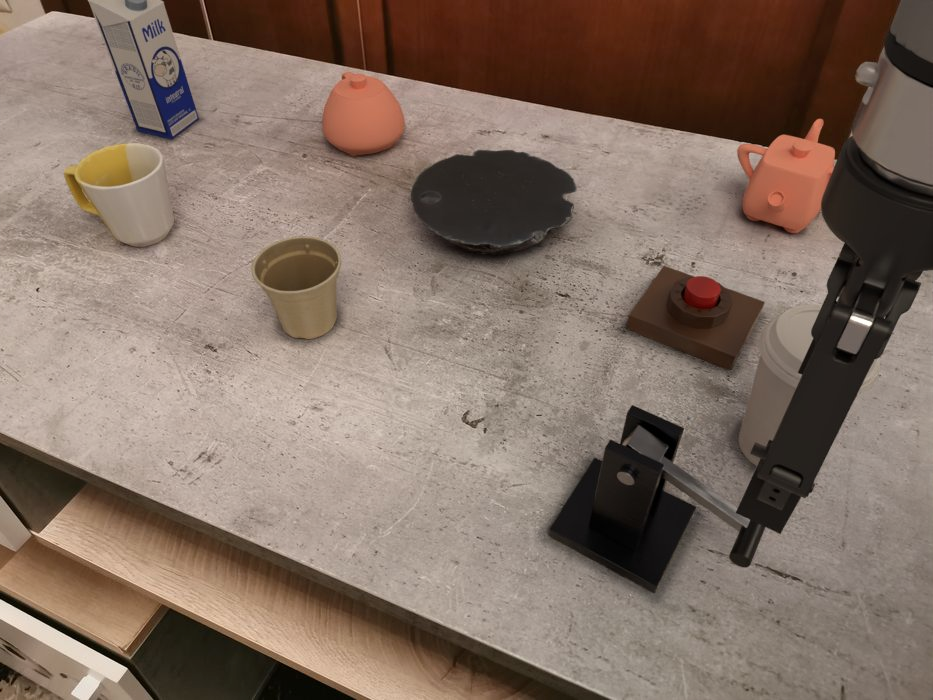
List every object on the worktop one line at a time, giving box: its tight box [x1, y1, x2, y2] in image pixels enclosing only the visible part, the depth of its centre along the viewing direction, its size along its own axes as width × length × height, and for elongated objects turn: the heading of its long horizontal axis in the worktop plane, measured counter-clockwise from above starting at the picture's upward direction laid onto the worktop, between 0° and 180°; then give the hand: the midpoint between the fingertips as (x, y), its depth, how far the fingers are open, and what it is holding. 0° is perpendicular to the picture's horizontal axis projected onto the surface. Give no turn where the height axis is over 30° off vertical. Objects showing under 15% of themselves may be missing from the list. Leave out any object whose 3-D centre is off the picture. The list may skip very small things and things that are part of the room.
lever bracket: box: [548, 404, 697, 594], centre depth 60 cm, size 10×9×13 cm
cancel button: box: [683, 275, 721, 309], centre depth 79 cm, size 4×4×2 cm
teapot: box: [736, 118, 836, 234], centre depth 93 cm, size 14×12×10 cm
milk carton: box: [87, 0, 200, 141], centre depth 108 cm, size 7×7×20 cm
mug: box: [63, 142, 175, 248], centre depth 92 cm, size 14×10×10 cm
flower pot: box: [251, 235, 342, 340], centre depth 80 cm, size 9×9×9 cm
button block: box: [625, 265, 765, 371], centre depth 81 cm, size 12×10×4 cm
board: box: [410, 149, 578, 256], centre depth 94 cm, size 22×22×5 cm
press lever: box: [622, 425, 767, 569], centre depth 56 cm, size 12×6×2 cm, turn 57°
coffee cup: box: [738, 303, 881, 467], centre depth 65 cm, size 10×10×15 cm
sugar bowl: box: [321, 71, 406, 157], centre depth 107 cm, size 12×14×10 cm
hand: (791, 442), depth 48 cm, fingers open, 13 cm apart
